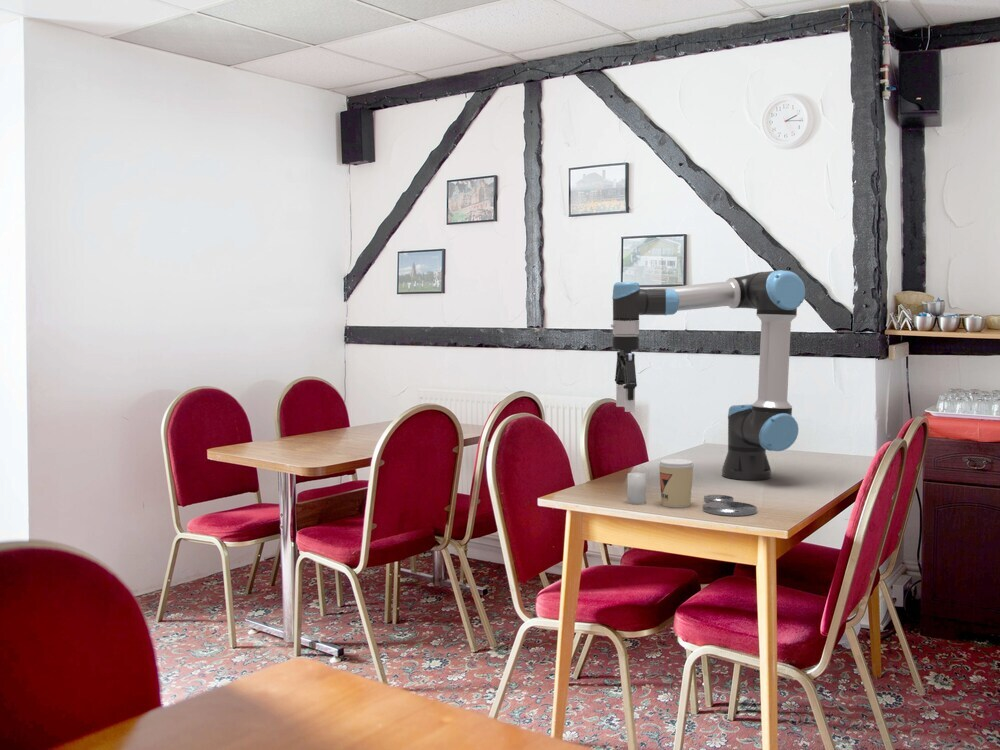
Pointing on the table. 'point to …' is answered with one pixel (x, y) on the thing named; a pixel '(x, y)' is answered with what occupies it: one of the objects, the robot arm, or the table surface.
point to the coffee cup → (676, 482)
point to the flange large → (729, 508)
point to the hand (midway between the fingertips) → (625, 409)
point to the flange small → (717, 498)
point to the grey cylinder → (636, 488)
